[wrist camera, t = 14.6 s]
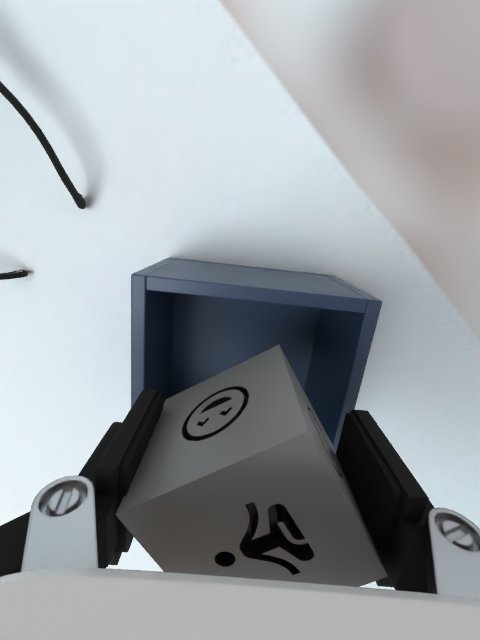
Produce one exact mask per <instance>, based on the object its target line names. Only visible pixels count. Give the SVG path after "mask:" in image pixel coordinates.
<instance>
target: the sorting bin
mask: <svg viewBox="0 0 480 640" xmlns="http://www.w3.org/2000/svg"><path fill="white" fill-rule="evenodd" d="M381 305H382V301H381V300H379V299H377V298H375V297H373V296H371V295H369V294H367V293H365V292H364V291H362V290H360V289H358V288H356V287H354V286H352V285H350V284H348V283H346V282H344V281H342V280H340V279H338V278H336V277H335V276H330V275H321V274H312V273H303V272H294V271H285V270H276V269H267V268H258V267H248V266H239V265H230V264H221V263H212V262H203V261H194V260H185V259H176V258H167V259H165V260H163V261H160V262H158V263H156V264H154V265H151V266H149V267H147V268H145V269H142V270H140V271H138V272H136V273H134V274H132V275H131V408H132V406H133V405H134V403H135V401H136V400H137V398H138V397H139V395H140V393H141V392H142V390H143V389H148V390H158V391H159V394H160V395H163V405H164V403H165V401H166V399H168V398H170V397H172V396H174V395H176V394H178V393H180V392H182V391H184V390H186V389H189V388H191V387H193V386H195V385H197V384H199V383H201V382H203V381H205V380H207V379H209V378H211V377H213V376H215V375H217V374H219V373H221V372H223V371H226V370H228V369H230V368H232V367H234V366H236V365H238V364H240V363H242V362H244V361H246V360H248V359H250V358H252V357H254V356H256V355H258V354H260V353H262V352H265V351H267V350H269V349H271V348H273V347H275V346H277V345H280V347H281V349H282V351H283V353H284V355H285V356H286V358H287V360H288V362H289V364H290V366H291V368H292V370H293V371H294V373H295V375H296V377H297V379H298V381H299V383H300V385H301V387H302V388H303V390H304V392H305V394H306V396H307V398H308V400H309V402H310V403H311V405H312V407H313V409H314V411H315V413H316V415H317V417H318V418H319V420H320V422H321V424H322V426H323V428H324V430H325V432H326V434H327V435H328V437H329V439H330V441H331V443H332V445H333V448H334V450H335V452H336V451H337V447H338V443H339V439H340V435H341V431H342V427H343V423H344V419H345V415H346V413H350V411H351V410H353V409H355V405H356V401H357V397H358V393H359V389H360V385H361V382H362V378H363V374H364V370H365V366H366V362H367V359H368V355H369V351H370V347H371V343H372V339H373V335H374V332H375V328H376V324H377V320H378V316H379V312H380V309H381Z"/></svg>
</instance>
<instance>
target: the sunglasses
mask: <svg viewBox="0 0 480 640" xmlns="http://www.w3.org/2000/svg"><path fill="white" fill-rule="evenodd" d="M0 92H1V93H2V94H3V96H4V97H5V98H6V99H7V100H8V101H9V102H10V103H11V104H12V105H13V106H14V108H15V109H16V110H17V111H18V112H19V113H20V115H21V116H22V117H23V118H24V120H25V121H26V122H27V124H28V125H29V126H30V128H31V129H32V131H33V132H34V133H35V135H36V136H37V138H38V139H39V141H40V142H41V144H42V146H43V148H44V149H45V151H46V153H47V154H48V156H49V158H50V160H51V161H52V163H53V165H54V167H55V169H56V171H57V172H58V174H59V176H60V178H61V180H62V181H63V183H64V185H65V186H66V188H67V189H68V191H69V192H70V194H71V195H72V197H73V199H74V201H75V202H76V204H77V206H78V207H79V208H81V209H85V201H84V199H83V197H82V195H81V194H79V193H78V191H77V190H76V188H75V187H74V185H73V184H72V182H71V180H70V179H69V177H68V175H67V174H66V172H65V170H64V168H63V167H62V165H61V163H60V161H59V159H58V158H57V156H56V154H55V152H54V150H53V149H52V147H51V145H50V143H49V142H48V140H47V139H46V137H45V135H44V134H43V132H42V131H41V129H40V128H39V126H38V125H37V124H36V122H35V121H34V119H33V118H32V117H31V115H30V114H29V113H28V112H27V110H26V109H25V108H24V107H23V106H22V104H21V103H20V102H19V101H18V100H17V99H16V97H15V96H14V95H13V94H12V93H11V92H10V91H9V90H8V89H7V88H6V87H5V86H4V85H3V84H2V83H1V82H0ZM27 275H28V273H27V272H26V271H24V270H19V271H13V272H9V273H1V274H0V280H4V279H13V278H20V277H25V276H27Z"/></svg>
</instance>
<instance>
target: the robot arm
mask: <svg viewBox="0 0 480 640" xmlns="http://www.w3.org/2000/svg"><path fill="white" fill-rule="evenodd" d="M162 411H163V395H160V394H159V391H158V390H148V389H143V390H142V392H141V393H140V395H139V397H138V398H137V400H136V401H135V403H134V405H133V406H132V408H131V410H130V411H129V413H128V415H127V416H126V418H125V420H124V421H123V423H121V422H114V423H113V424H112V425H111V426H110V428H109V429H108V431H107V432H106V434H105V435H104V437H103V438H102V440H101V442H100V443H99V445H98V446H97V448H96V449H95V451H94V452H93V454H92V455H91V457H90V458H89V460H88V461H87V463H86V464H85V466H84V467H83V469H82V470H81V472H80V473H79V475H78V476H67V477H63V478H60V479H57V480H55V481H53V482H52V483H50V484H48V485H47V486H45V487H44V488H43V489H42V490H41V491H40V492H39V493H38V494H37V496H36V497H35V498H34V501H33V503H32V506H31V511H30V512H28V513H26V514H24V515H22V516H20V517H18V518H16V519H14V520H12V521H10V522H8V523H5V524H3V525H1V526H0V640H480V529H479V528H478V527H477V526H476V525H475V524H474V523H473V522H471V521H470V520H469V519H467V518H466V517H464V516H463V515H461V514H459V513H457V512H455V511H453V510H449V509H446V508H434V506H433V505H432V504H431V502H430V501H429V498H428V496H427V495H426V494H425V492H424V491H423V489H422V488H421V486H420V485H419V483H418V482H417V481H416V479H415V478H414V476H413V475H412V473H411V472H410V471H409V469H408V468H407V466H406V465H405V463H404V462H403V461H402V459H401V458H400V456H399V455H398V453H397V452H396V451H395V449H394V448H393V446H392V445H391V443H390V442H389V440H388V439H387V438H386V436H385V435H384V433H383V432H382V430H381V429H380V428H379V426H378V425H377V423H376V422H375V420H374V419H373V418H372V416H371V415H370V413H369V412H368V411H364V410H354V409H353V410H351V411H350V413H346V415H345V419H344V423H343V427H342V431H341V435H340V439H339V443H338V447H337V451H336V455H337V458H338V460H339V462H340V465H341V467H342V470H343V472H344V474H345V477H346V479H347V481H348V484H349V486H350V488H351V491H352V493H353V496H354V498H355V500H356V503H357V505H358V507H359V510H360V512H361V514H362V517H363V519H364V522H365V524H366V526H367V529H368V531H369V533H370V536H371V538H372V541H373V543H374V545H375V548H376V550H377V552H378V554H379V556H380V559H381V561H382V563H383V566H384V568H385V570H386V573H387V575H388V577H386V578H383V579H380V580H377V581H376V583H377V585H378V586H385V587H394V588H395V589H396V590H386V589H374V588H363V587H351V586H339V585H327V584H314V583H302V582H289V581H277V580H264V579H251V578H238V577H225V576H211V575H197V574H184V573H170V572H156V571H141V570H122V569H105V568H106V567H108V565H117V564H118V562H119V559H120V556H121V553H122V552H128V550H129V548H130V545H131V543H132V540H133V537H134V536H133V535H132V534H131V533H130V531H129V530H128V529H127V528H126V527H125V526H124V524H123V523H122V522H121V521H120V520H119V519H118V517H117V516H116V512H117V510H118V508H119V506H120V503H121V501H122V499H123V497H124V496H126V495H127V492H128V490H129V488H130V485H131V483H132V481H133V478H134V476H135V474H136V471H137V469H138V467H139V464H140V462H141V460H142V457H143V455H144V453H145V450H146V448H147V446H148V443H149V441H150V439H151V436H152V434H153V432H154V429H155V427H156V425H157V422H158V420H159V418H160V415H161V413H162Z"/></svg>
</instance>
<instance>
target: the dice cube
mask: <svg viewBox="0 0 480 640" xmlns="http://www.w3.org/2000/svg"><path fill="white" fill-rule="evenodd" d="M116 516H117V517H118V519H119V520H120V521H121V522H122V523H123V524H124V526H125V527H126V528H127V529H128V530H129V531H130V533H131V534H132V535H133V536H134V537H135V538H136V540H137V541H138V542H139V543H140V544H141V545H142V547H143V548H144V549H145V550H146V551H147V552H148V554H149V555H150V556H151V557H152V558H153V559H154V561H155V562H156V563H157V564H158V565H159V566H160V568H161V569H162V570H163V571H164V572H170V573H184V574H197V575H211V576H225V577H238V578H251V579H264V580H277V581H289V582H302V583H314V584H327V585H339V586H351V587H360V586H363V585H365V584H368V583H371V582H374V581H377V580H380V579H383V578H386V577H388V575H387V573H386V570H385V568H384V566H383V563H382V561H381V559H380V556H379V554H378V552H377V550H376V548H375V545H374V543H373V541H372V538H371V536H370V533H369V531H368V529H367V526H366V524H365V522H364V519H363V517H362V514H361V512H360V510H359V507H358V505H357V503H356V500H355V498H354V496H353V493H352V491H351V488H350V486H349V484H348V481H347V479H346V477H345V474H344V472H343V470H342V467H341V465H340V462H339V460H338V458H337V455H336V452H335V450H334V448H333V445H332V443H331V441H330V439H329V437H328V435H327V434H326V432H325V430H324V428H323V426H322V424H321V422H320V420H319V418H318V417H317V415H316V413H315V411H314V409H313V407H312V405H311V403H310V402H309V400H308V398H307V396H306V394H305V392H304V390H303V388H302V387H301V385H300V383H299V381H298V379H297V377H296V375H295V373H294V371H293V370H292V368H291V366H290V364H289V362H288V360H287V358H286V356H285V355H284V353H283V351H282V349H281V347H280V345H277V346H275V347H273V348H271V349H269V350H267V351H265V352H262V353H260V354H258V355H256V356H254V357H252V358H250V359H248V360H246V361H244V362H242V363H240V364H238V365H236V366H234V367H232V368H230V369H228V370H226V371H223V372H221V373H219V374H217V375H215V376H213V377H211V378H209V379H207V380H205V381H203V382H201V383H199V384H197V385H195V386H193V387H191V388H189V389H186V390H184V391H182V392H180V393H178V394H176V395H174V396H172V397H170V398H168V399H166V401H165V403H164V405H163V411H162V413H161V415H160V418H159V420H158V422H157V425H156V427H155V429H154V432H153V434H152V436H151V439H150V441H149V443H148V446H147V448H146V450H145V453H144V455H143V457H142V460H141V462H140V464H139V467H138V469H137V471H136V474H135V476H134V478H133V481H132V483H131V485H130V488H129V490H128V492H127V495H126V496H124V497H123V499H122V501H121V503H120V506H119V508H118V510H117V512H116Z"/></svg>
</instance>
